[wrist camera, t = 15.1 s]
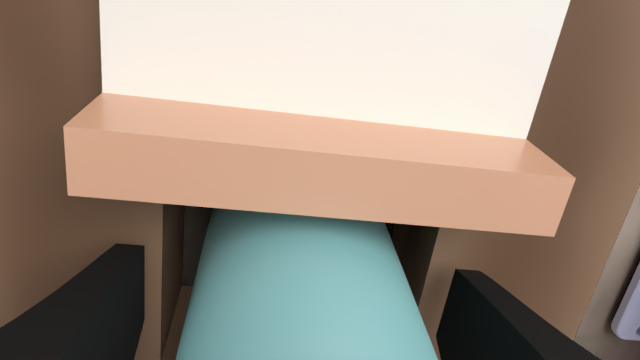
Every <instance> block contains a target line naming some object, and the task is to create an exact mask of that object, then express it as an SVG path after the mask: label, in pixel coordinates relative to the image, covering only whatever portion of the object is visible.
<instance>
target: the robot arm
mask: <svg viewBox="0 0 640 360" xmlns="http://www.w3.org/2000/svg"><path fill="white" fill-rule="evenodd" d="M144 320H145V245H132V244H119V243H116V244H115V245H113V246H112V247H111V248H109V249H108V250H107V251H105V252H104V253H103V254H102V255H100V256H99V257H98V258H97V259H95V260H94V261H93V262H92V263H90V264H89V265H88V266H87V267H85V268H84V269H83V270H82V271H80V272H79V273H78V274H77V275H75V276H74V277H73V278H71V279H70V280H69V281H67V282H66V283H65V284H63V285H62V286H61V287H59V288H58V289H57V290H56V291H54V292H53V293H52V294H50V295H49V296H47V297H46V298H44V299H43V300H41V301H40V302H39V303H37V304H36V305H34V306H33V307H31V308H30V309H28V310H27V311H25V312H24V313H22V314H21V315H20V316H18V317H17V318H15V319H13V320H12V321H10V322H9V323H7V324H5V325H4V326H2V327H1V328H0V360H134V358H135V354H136V350H137V347H138V343H139V339H140V335H141V331H142V328H143V324H144ZM611 328H612V331H613V332H614V333H615V334H616V335H617V336H618V337H619V338H620V339H624V340H638V341H640V263H639V265H638V267H637V269H636V271H635V273H634V276H633V278H632V280H631V282H630V284H629V286H628V289H627V291H626V293H625V295H624V297H623V300H622V302H621V304H620V306H619V308H618V310H617V313H616V315H615V317H614V319H613V321H612V324H611ZM436 340H437V344H438V349H439V353H440V358H441V360H601V359H599V358H598V357H596V356H595V355H593V354H592V353H590V352H589V351H587V350H586V349H584V348H583V347H582V346H580V345H579V344H577V343H576V342H574V341H573V340H571V339H570V338H569V337H567V336H566V335H564V334H563V333H562V332H560V331H559V330H558V329H556V328H555V327H554V326H552V325H551V324H550V323H548V322H547V321H546V320H544V319H543V318H542V317H540V316H539V315H538V314H537V313H535V312H534V311H533V310H531V309H530V308H529V307H528V306H526V305H525V304H524V303H522V302H521V301H520V300H519V299H517V298H516V297H515V296H514V295H512V294H511V293H510V292H508V291H507V290H506V289H505V288H503V287H502V286H501V285H499V284H498V283H497V282H495V281H494V280H493V279H491V278H490V277H488V276H487V275H486V274H484V273H483V272H481V271H478V270H465V269H455V271H454V275H453V278H452V282H451V285H450V289H449V292H448V296H447V299H446V302H445V306H444V309H443V313H442V316H441V320H440V323H439V326H438V330H437V333H436Z"/></svg>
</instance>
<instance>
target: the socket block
mask: <svg viewBox="0 0 640 360" xmlns="http://www.w3.org/2000/svg"><path fill="white" fill-rule="evenodd" d="M101 93H102V69H101V39H100V8H99V0H0V328H1V327H2V326H4V325H5V324H7V323H9V322H10V321H12V320H13V319H15V318H17V317H18V316H20V315H21V314H22V313H24V312H25V311H27V310H28V309H30V308H31V307H33V306H34V305H36V304H37V303H39V302H40V301H41V300H43V299H44V298H46V297H47V296H49V295H50V294H52V293H53V292H54V291H56V290H57V289H58V288H59V287H61V286H62V285H63V284H65V283H66V282H67V281H69V280H70V279H71V278H73V277H74V276H75V275H77V274H78V273H79V272H80V271H82V270H83V269H84V268H85V267H87V266H88V265H89V264H90V263H92V262H93V261H94V260H95V259H97V258H98V257H99V256H100V255H102V254H103V253H104V252H105V251H107V250H108V249H109V248H111V247H112V246H113V245H115V244H116V243H119V244H132V245H145V320H144V324H143V328H142V331H141V335H140V339H139V343H138V347H137V350H136V354H135V358H134V360H175V359H176V355H177V351H178V347H179V343H180V339H181V334H182V330H183V326H184V322H185V318H186V314H187V309H188V305H189V301H190V297H191V293H192V289H193V286H184V285H182V265H183V237H184V210H185V205H174V204H163V203H151V202H139V201H127V200H116V199H104V198H92V197H80V196H69V195H68V191H67V176H66V161H65V146H64V131H63V126H64V125H65V124H66V123H68V122H69V121H70V120H71V119H72V118H73V117H75V116H76V115H77V114H78V113H79V112H80V111H81V110H83V109H84V108H85V107H86V106H87V105H88V104H90V103H91V102H92V101H93V100H94V99H95V98H96V97H98V96H99V95H100V94H101ZM526 139H527V140H528V141H529V142H531V143H532V144H533V145H534V146H536V147H537V148H538V149H539V150H541V151H542V152H543V153H545V154H546V155H547V156H548V157H550V158H551V159H552V160H553V161H555V162H556V163H557V164H559V165H560V166H561V167H562V168H564V169H565V170H566V171H567V172H569V173H570V174H571V175H573V176H574V177H575V178H576V180H575V182H574V185H573V188H572V190H571V193H570V196H569V198H568V201H567V204H566V207H565V209H564V212H563V215H562V217H561V220H560V223H559V225H558V228H557V231H556V233H555V236H554V237H550V236H539V235H527V234H515V233H503V232H492V231H480V230H468V229H456V228H445V227H433V226H421V225H409V224H398V223H395V225H394V229H393V234H392V238H391V240H392V243H393V245H394V248H395V250H396V253H397V255H398V258H399V261H400V263H401V266H402V268H403V271H404V273H405V276H406V279H407V281H408V284H409V286H410V289H411V291H412V294H413V297H414V299H415V302H416V304H417V307H418V309H419V312H420V315H421V317H422V320H423V322H424V325H425V327H426V330H427V333H428V335H429V338H430V340H431V343H432V345H433V348H434V351H435V353H436V356H437V358H438V360H441V358H440V353H439V349H438V344H437V340H436V333H437V330H438V326H439V323H440V320H441V316H442V313H443V309H444V306H445V302H446V299H447V296H448V292H449V289H450V285H451V282H452V278H453V275H454V271H455V269H465V270H478V271H481V272H483V273H484V274H486V275H487V276H488V277H490V278H491V279H493V280H494V281H495V282H497V283H498V284H499V285H501V286H502V287H503V288H505V289H506V290H507V291H508V292H510V293H511V294H512V295H514V296H515V297H516V298H517V299H519V300H520V301H521V302H522V303H524V304H525V305H526V306H528V307H529V308H530V309H531V310H533V311H534V312H535V313H537V314H538V315H539V316H540V317H542V318H543V319H544V320H546V321H547V322H548V323H550V324H551V325H552V326H554V327H555V328H556V329H558V330H559V331H560V332H562V333H563V334H564V335H566V336H567V337H569V338H570V339H571V340H573V339H574V337H575V335H576V332H577V330H578V328H579V325H580V323H581V321H582V318H583V316H584V314H585V311H586V309H587V307H588V304H589V302H590V300H591V297H592V295H593V293H594V290H595V288H596V286H597V283H598V281H599V279H600V276H601V274H602V272H603V269H604V267H605V265H606V262H607V260H608V258H609V255H610V253H611V251H612V248H613V246H614V244H615V241H616V239H617V237H618V234H619V232H620V230H621V227H622V225H623V223H624V221H625V218H626V216H627V214H628V211H629V209H630V207H631V204H632V202H633V200H634V197H635V195H636V193H637V190H638V188H639V186H640V0H570V3H569V6H568V10H567V13H566V16H565V19H564V22H563V25H562V28H561V32H560V35H559V38H558V41H557V44H556V47H555V50H554V54H553V57H552V60H551V63H550V66H549V69H548V72H547V76H546V79H545V82H544V85H543V88H542V91H541V94H540V98H539V101H538V104H537V107H536V110H535V113H534V116H533V120H532V123H531V126H530V129H529V132H528V135H527V138H526Z"/></svg>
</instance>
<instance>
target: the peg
mask: <svg viewBox="0 0 640 360" xmlns="http://www.w3.org/2000/svg"><path fill="white" fill-rule="evenodd" d="M175 360H438V358H437V356H436V353H435V351H434V348H433V345H432V343H431V340H430V338H429V335H428V333H427V330H426V327H425V325H424V322H423V320H422V317H421V315H420V312H419V309H418V307H417V304H416V302H415V299H414V297H413V294H412V291H411V289H410V286H409V284H408V281H407V279H406V276H405V273H404V271H403V268H402V266H401V263H400V261H399V258H398V255H397V253H396V250H395V248H394V245H393V243H392V240H391V237H390V235H389V232H388V230H387V227H386V225H385V222H374V221H362V220H351V219H339V218H327V217H315V216H304V215H292V214H280V213H268V212H257V211H245V210H233V209H221V208H212V210H211V214H210V218H209V222H208V226H207V230H206V235H205V239H204V243H203V247H202V251H201V255H200V260H199V264H198V268H197V272H196V276H195V280H194V285H193V289H192V293H191V297H190V301H189V305H188V309H187V314H186V318H185V322H184V326H183V330H182V334H181V339H180V343H179V347H178V351H177V355H176V359H175Z"/></svg>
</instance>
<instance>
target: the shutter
mask: <svg viewBox="0 0 640 360" xmlns="http://www.w3.org/2000/svg"><path fill="white" fill-rule="evenodd" d="M569 3H570V0H99V8H100V39H101V69H102V93H101V94H100V95H99V96H98V97H96V98H95V99H94V100H93V101H92V102H91V103H90V104H88V105H87V106H86V107H85V108H84V109H83V110H81V111H80V112H79V113H78V114H77V115H76V116H75V117H73V118H72V119H71V120H70V121H69V122H68V123H66V124H65V125H64V126H63V131H64V146H65V161H66V176H67V191H68V195H69V196H80V197H92V198H104V199H116V200H127V201H139V202H151V203H163V204H174V205H186V206H198V207H210V208H221V209H233V210H245V211H257V212H268V213H280V214H292V215H304V216H315V217H327V218H339V219H351V220H362V221H374V222H386V223H398V224H409V225H421V226H433V227H445V228H456V229H468V230H480V231H492V232H503V233H515V234H527V235H539V236H550V237H554V236H555V233H556V231H557V228H558V225H559V223H560V220H561V217H562V215H563V212H564V209H565V207H566V204H567V201H568V198H569V196H570V193H571V190H572V188H573V185H574V182H575V180H576V178H575V177H574V176H573V175H571V174H570V173H569V172H567V171H566V170H565V169H564V168H562V167H561V166H560V165H559V164H557V163H556V162H555V161H553V160H552V159H551V158H550V157H548V156H547V155H546V154H545V153H543V152H542V151H541V150H539V149H538V148H537V147H536V146H534V145H533V144H532V143H531V142H529V141H528V140H527V139H526V138H527V135H528V132H529V129H530V126H531V123H532V120H533V116H534V113H535V110H536V107H537V104H538V101H539V98H540V94H541V91H542V88H543V85H544V82H545V79H546V76H547V72H548V69H549V66H550V63H551V60H552V57H553V54H554V50H555V47H556V44H557V41H558V38H559V35H560V32H561V28H562V25H563V22H564V19H565V16H566V13H567V10H568V6H569Z"/></svg>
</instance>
